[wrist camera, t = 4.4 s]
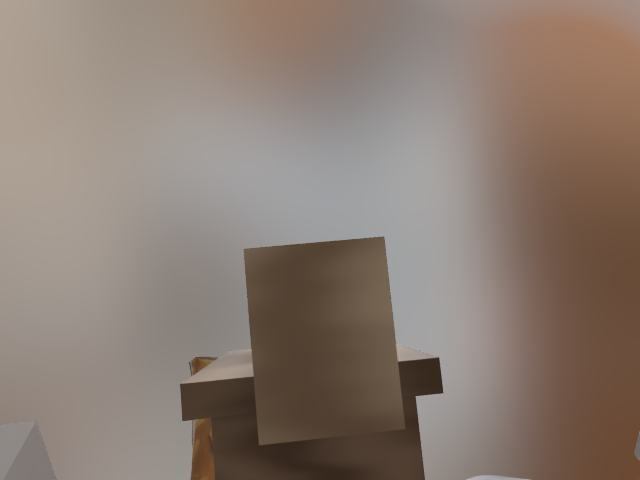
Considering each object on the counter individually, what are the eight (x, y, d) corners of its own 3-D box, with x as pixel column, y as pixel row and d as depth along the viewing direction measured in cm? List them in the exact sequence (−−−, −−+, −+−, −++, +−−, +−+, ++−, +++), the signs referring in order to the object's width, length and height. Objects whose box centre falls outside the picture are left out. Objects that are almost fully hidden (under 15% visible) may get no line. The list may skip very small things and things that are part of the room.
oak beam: (183, 453, 11) (168, 208, 11) (263, 347, 41) (257, 280, 41) (476, 421, 11) (447, 185, 12) (342, 339, 41) (336, 273, 42)
